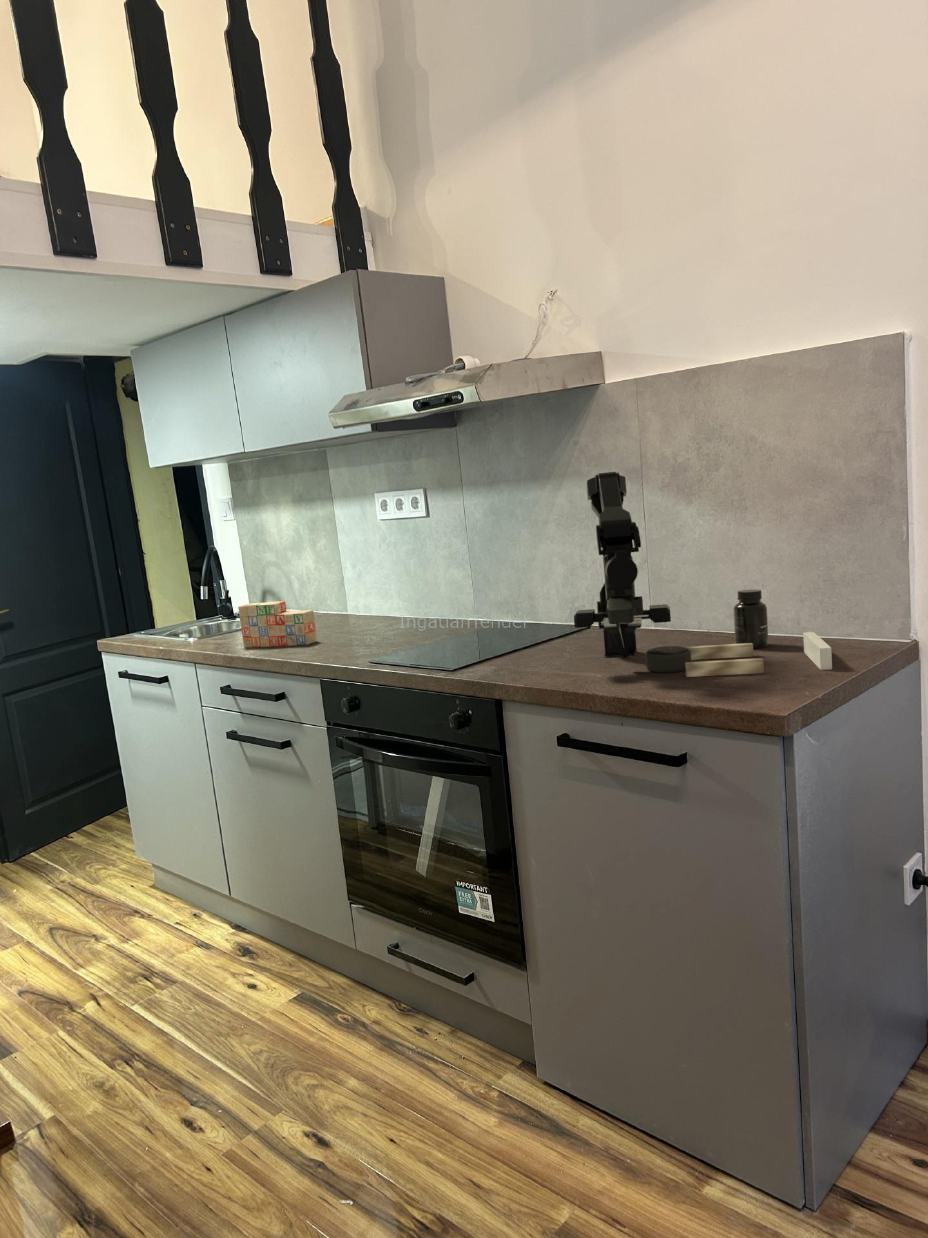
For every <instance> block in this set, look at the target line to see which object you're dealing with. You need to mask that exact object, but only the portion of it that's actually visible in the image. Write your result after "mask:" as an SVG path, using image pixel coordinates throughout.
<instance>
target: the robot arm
mask: <svg viewBox="0 0 928 1238" xmlns="http://www.w3.org/2000/svg"><path fill="white" fill-rule="evenodd" d="M586 494H587V501H590V505H591V506H590V507H591V510H592V512H594V514H595V515H596V516H597V518H598V524H596V525H595V533H596V534H595V535H596V544H597V551H598V556H602V562H603V575H604V583H603V584H602V587H601V589H600V591H599V601H598V600H597V601H596V609H595V608H592V609H589V608H588V609H578V610H577V611H576V612H575V613H574V615H573V623H574V624H573V625H574V628H575V629H579V628H581V629H582V628H591V627H592V626H593V624H594V623H597V627H598V630H602V631H603V645H604V653H603V656H604V657H607V658H608V657H622V659H623V660H628V656H634V655H635V652H637V649H638V648H637V637H636V635H637V634H636V630H637V629H640V628H642V621H643V620H649V619H650V620H651V622H653V623H654V624H659V623H670V622H671V619H672V617H671V607H670V606H669V605H668V604H667V603H666V604H665V603H664V604H654V605H653V604H650V605H649V606H648V607H649V609H644V605H643V604H644V602H643V596H636V589H635V588H636V587H635V581H636V580H637V578H638V574H639V573H638V572H639V569H638V566H637V564H636V563H635V561H634V560H633V559H634V558H633V556H632V553H639V552H640V551H639V549H640V548H642V541H641V536H640V529H639V527H638V526H637V522H635V521H633V520H632V516H631V513H630V512H629V511H628V510H626V509H624V508H623V505H624V497H626V496H627V494H628V492H627V483H626V476H624V475H620V472H616V471H608V472H599V473H598V474H595V475H594V477H591V478H589V479H588V480H586Z"/></svg>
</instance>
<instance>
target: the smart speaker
mask: <svg viewBox="0 0 928 1238" xmlns="http://www.w3.org/2000/svg"><path fill="white" fill-rule="evenodd" d="M685 647H686V646H680V645H679V646H678V645H677V646H676V645H675V646H674V645H668V646H667V645H666V646H658V647H654V648H653V647H652V648H650V649H648V650H646V652H645V654H644V659H645V660H644V661H645V668H646V669H647V670H648V671H650V672H653V673H659V674H660V673H661V674H662V673H665V674H666V673H668V674H669V673H679V672H683V671H686V665H685V662H692V660H691V652H690V650H689V649H688V648H685Z"/></svg>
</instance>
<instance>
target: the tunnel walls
mask: <svg viewBox="0 0 928 1238" xmlns="http://www.w3.org/2000/svg"><path fill="white" fill-rule="evenodd" d="M684 647H685V648H688V649H689V650H690V652H691V662H685V665H686V670H685V676H686V678H692V677H694V678H695V677H710V676H711V677H712V676H713V677H714V676H715V677H716V676H731V675H732V676H733V675H750V674H751V675H752V674H764V672H765V671H764V669H765V668H764V667H765V666H764V659H763V658H761V657H760V658H759V657H758V658H753V657H754V649H753V644H752V643H744V644H735V643H730V644H715V645H714V644H713V645H712V644H711V645H698V646H695V645H693V646H684ZM747 657H748V658H747ZM751 657H752V658H751ZM732 658H734V659H732ZM735 658H741V659H735ZM742 658H743V659H742ZM715 659H718V660H715ZM719 659H720V660H719ZM721 659H723V660H721ZM696 660H697V661H696ZM699 660H705V661H699Z"/></svg>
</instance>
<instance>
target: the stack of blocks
mask: <svg viewBox="0 0 928 1238" xmlns="http://www.w3.org/2000/svg"><path fill="white" fill-rule="evenodd" d="M237 609H238V614H239V623H240V627H241V635H242V643H243V648H259V647H265V648H266V647H288V646H307V645H310V644H312V643H316V642H317V629H316V623H315V614H314V610H313V609H309V610H305V609H303V610H287V606H286V601H285V600H281V601H267V602H254V603H253V602H251V603H247V604H244V605H240V606H238V608H237Z"/></svg>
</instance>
